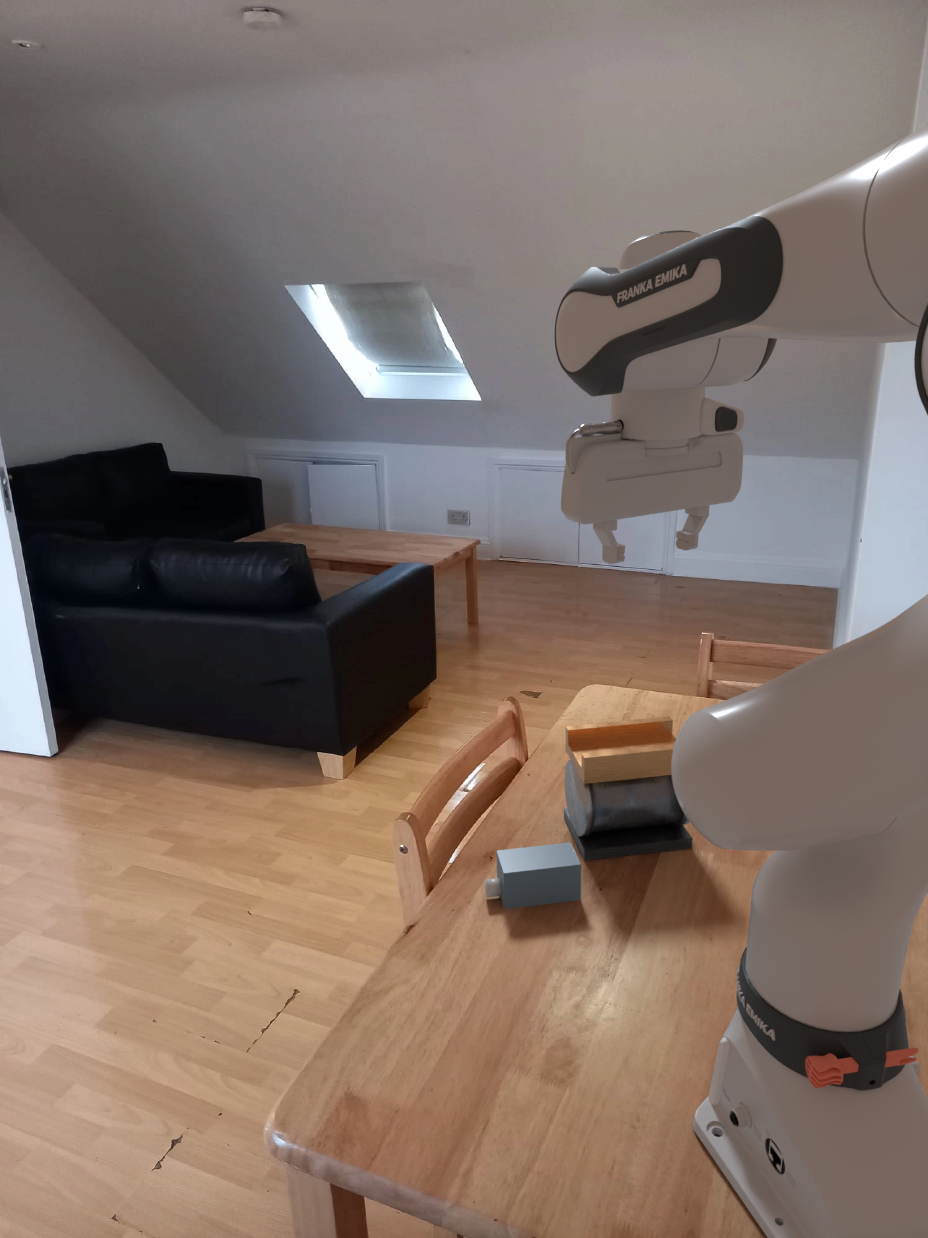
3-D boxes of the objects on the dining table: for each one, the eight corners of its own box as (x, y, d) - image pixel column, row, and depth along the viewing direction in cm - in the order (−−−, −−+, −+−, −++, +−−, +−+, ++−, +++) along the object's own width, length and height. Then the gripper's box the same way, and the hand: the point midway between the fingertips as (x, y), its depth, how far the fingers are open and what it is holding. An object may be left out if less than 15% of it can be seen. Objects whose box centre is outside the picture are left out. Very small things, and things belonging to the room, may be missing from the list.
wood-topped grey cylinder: (691, 848, 108) (698, 749, 103) (584, 860, 106) (585, 760, 101) (663, 807, 117) (667, 714, 112) (563, 817, 115) (564, 724, 111)
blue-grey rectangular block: (580, 901, 99) (581, 864, 97) (489, 912, 97) (488, 875, 96) (570, 878, 103) (570, 842, 101) (483, 888, 102) (482, 852, 100)
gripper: (586, 428, 75) (584, 578, 80) (757, 411, 84) (747, 547, 89) (548, 422, 81) (548, 563, 85) (712, 407, 89) (704, 535, 94)
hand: (650, 555), depth 87 cm, fingers open, 8 cm apart
